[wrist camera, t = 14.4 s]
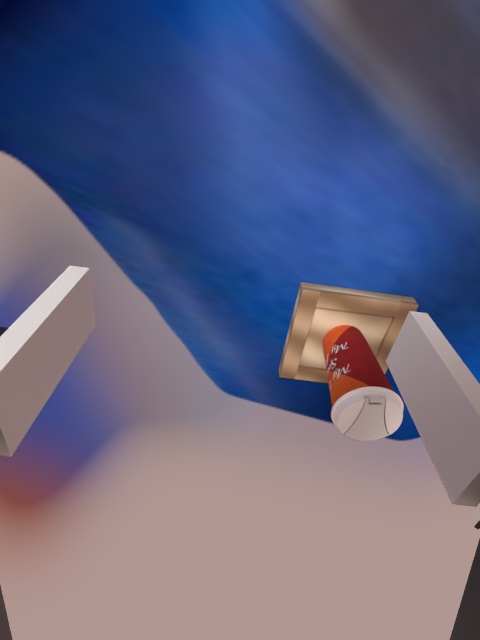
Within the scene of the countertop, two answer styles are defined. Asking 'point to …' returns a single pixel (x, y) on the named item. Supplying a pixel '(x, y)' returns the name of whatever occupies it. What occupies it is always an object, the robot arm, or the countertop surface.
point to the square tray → (335, 310)
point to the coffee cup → (359, 387)
